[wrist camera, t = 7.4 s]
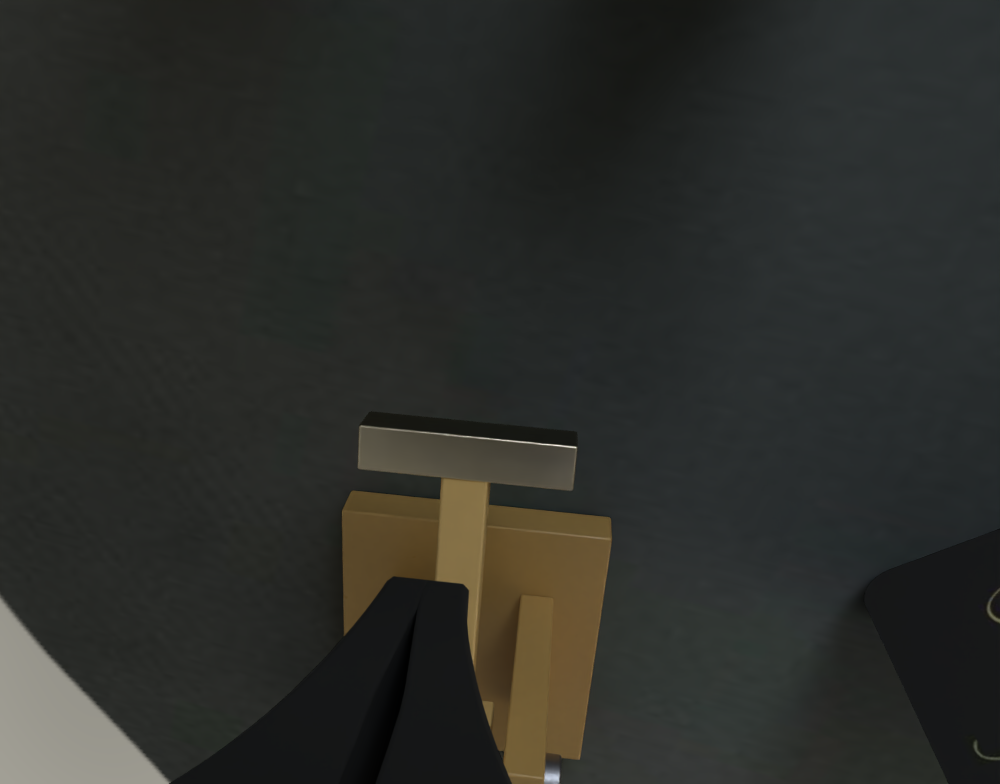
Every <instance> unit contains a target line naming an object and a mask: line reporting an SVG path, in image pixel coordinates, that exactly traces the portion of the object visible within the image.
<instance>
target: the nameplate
mask: <svg viewBox="0 0 1000 784" xmlns="http://www.w3.org/2000/svg"><path fill="white" fill-rule="evenodd" d="M864 602H865V605H866V608H867V610H868V612H869V614H870V616H871V618H872V620H873V622H874V625H875V627H876V629H877V631H878V633H879V635H880V637H881V640H882V642H883V644H884V646H885V648H886V650H887V652H888V655H889V657H890V659H891V661H892V663H893V665H894V667H895V670H896V672H897V674H898V676H899V678H900V680H901V682H902V685H903V687H904V689H905V691H906V693H907V695H908V697H909V700H910V702H911V704H912V706H913V708H914V710H915V712H916V715H917V717H918V719H919V721H920V723H921V725H922V727H923V730H924V732H925V734H926V736H927V738H928V740H929V742H930V745H931V747H932V749H933V751H934V753H935V755H936V757H937V760H938V762H939V764H940V766H941V768H942V770H943V772H944V774H945V777H946V779H947V781H948V783H949V784H1000V529H998V530H996V531H993V532H990V533H988V534H985V535H982V536H980V537H977V538H974V539H971V540H969V541H966V542H963V543H961V544H958V545H955V546H953V547H950V548H947V549H945V550H942V551H939V552H936V553H934V554H931V555H928V556H926V557H923V558H920V559H918V560H915V561H912V562H909V563H906V564H904V565H901V566H898V567H895V568H893V569H890V570H888V571H886V572H884V573H882V574H880V575H879V576H877V577H876V578H875V579H874V580H873V581H872V582H871V583H870V584H869V586H868V587H867V589H866V593H865V597H864Z"/></svg>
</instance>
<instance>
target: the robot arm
mask: <svg viewBox="0 0 1000 784" xmlns="http://www.w3.org/2000/svg"><path fill="white" fill-rule="evenodd" d="M468 601H469V590H468V588H467V587H466V586H465V585H464V584H460V583H451V582H442V581H433V580H423V579H414V578H405V577H396V576H393V577H392V578H390V579H389V580H387V581H386V583H385V584H384V586H383V587H382V589H381V590H380V592H379V593H378V594H377V596H376V597H375V599H374V600H373V601H372V603H371V604H370V605H369V606H368V608H367V609H366V610H365V612H364V613H363V614H362V615H361V617H360V618H359V619H358V620H357V622H356V623H355V624H354V625H353V626H352V628H351V629H350V630H349V631H348V632H347V633H346V634H345V636H344V637H343V638H342V639H341V640H340V641H339V642H338V644H337V645H336V646H335V647H334V648H333V649H332V650H331V652H330V653H329V654H328V655H327V656H326V657H325V658H324V659H323V660H322V661H321V662H320V663H319V664H318V665H317V666H316V667H315V668H314V669H313V670H312V671H311V672H310V673H309V674H308V675H307V676H306V677H305V678H304V679H303V680H302V681H301V682H300V683H299V684H298V685H297V686H296V687H295V688H294V689H293V690H292V691H291V692H290V693H289V694H288V695H287V696H286V697H285V698H284V699H283V700H281V701H280V702H279V703H278V704H277V705H276V706H275V707H274V708H272V709H271V710H270V711H269V712H268V713H266V714H265V715H264V716H263V717H262V718H261V719H259V720H258V721H257V722H256V723H255V724H253V725H252V726H251V727H250V728H248V729H247V730H246V731H244V732H243V733H242V734H240V735H239V736H238V737H237V738H235V739H234V740H233V741H231V742H230V743H229V744H227V745H226V746H225V747H224V748H222V749H221V750H219V751H218V752H217V753H215V754H214V755H212V756H211V757H210V758H208V759H207V760H205V761H204V762H202V763H201V764H199V765H198V766H196V767H195V768H193V769H191V770H190V771H188V772H187V773H185V774H184V775H182V776H180V777H179V778H177V779H176V780H174V781H173V782H171V783H169V784H512V782H511V780H510V778H509V775H508V773H507V770H506V768H505V766H504V763H503V761H502V758H501V756H500V753H499V751H498V748H497V745H496V743H495V740H494V737H493V734H492V731H491V729H490V726H489V722H488V719H487V716H486V713H485V709H484V706H483V702H482V699H481V695H480V692H479V688H478V684H477V680H476V675H475V670H474V665H473V660H472V655H471V650H470V643H469V636H468V626H467V617H468Z"/></svg>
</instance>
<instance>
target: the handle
mask: <svg viewBox="0 0 1000 784" xmlns="http://www.w3.org/2000/svg"><path fill="white" fill-rule="evenodd" d="M577 452H578V437H577V432H574V431H564V430H554V429H543V428H533V427H523V426H513V425H503V424H493V423H483V422H473V421H463V420H452V419H442V418H432V417H422V416H412V415H402V414H392V413H382V412H372V411H371V412H369V413H368V415H367V416H366V417H365V419H364V420H363V421H362V422H361V424H360V425H359V439H358V469H363V470H373V471H383V472H392V473H402V474H412V475H421V476H431V477H441V491H440V507H439V523H438V539H437V555H436V571H435V581H442V582H451V583H460V584H464V585H465V586H466V587H467V588H468V590H469V601H468V617H467V626H468V636H469V643H470V650H471V655H472V660H473V665H474V670H476V658H477V645H478V633H479V620H480V608H481V596H482V583H483V571H484V558H485V546H486V533H487V521H488V509H489V496H490V484H491V483H499V484H509V485H519V486H529V487H538V488H548V489H558V490H568V491H572V490H573V488H574V479H575V470H576V461H577ZM482 702H483V706H484V709H485V713H486V716H487V719H488V722H489V726H490V729H491V731H492V727H493V716H494V703H493V702H489V701H482Z"/></svg>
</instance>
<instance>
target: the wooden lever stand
mask: <svg viewBox="0 0 1000 784" xmlns="http://www.w3.org/2000/svg"><path fill="white" fill-rule="evenodd" d="M439 507H440V500H439V499H430V498H420V497H410V496H401V495H391V494H381V493H372V492H362V491H351V493H350V495H349V497H348V499H347V501H346V503H345V506H344V508H343V510H342V553H343V608H344V636H345V634H346V633H347V632H348V631H349V630H350V629H351V628H352V626H353V625H354V624H355V623H356V622H357V620H358V619H359V618H360V617H361V615H362V614H363V613H364V612H365V610H366V609H367V608H368V606H369V605H370V604H371V603H372V601H373V600H374V599H375V597H376V596H377V594H378V593H379V592H380V590H381V589H382V587H383V586H384V584H385V583H386V581H387V580H389V579H390V578H392V577H393V576H396V577H405V578H414V579H423V580H433V581H435V571H436V555H437V539H438V523H439ZM611 543H612V531H611V519H610V518H609V517H602V516H593V515H583V514H574V513H564V512H554V511H545V510H535V509H526V508H516V507H506V506H497V505H489V509H488V521H487V533H486V546H485V558H484V571H483V583H482V596H481V608H480V620H479V633H478V645H477V658H476V670H475V675H476V680H477V684H478V688H479V692H480V695H481V699H482V701H489V702H493V703H494V716H493V727H492V734H493V737H494V740H495V743H496V745H497V748H498V750H499V751H504V758H503V763H504V766H505V768H506V770H507V773H508V775H509V778H510V780H511V782H512V784H561V765H562V760H561V758H566V759H575V760H579V759H580V754H581V747H582V741H583V734H584V727H585V720H586V713H587V707H588V700H589V693H590V686H591V679H592V673H593V666H594V659H595V652H596V645H597V639H598V632H599V625H600V618H601V611H602V605H603V598H604V591H605V584H606V577H607V571H608V564H609V557H610V550H611Z"/></svg>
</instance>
